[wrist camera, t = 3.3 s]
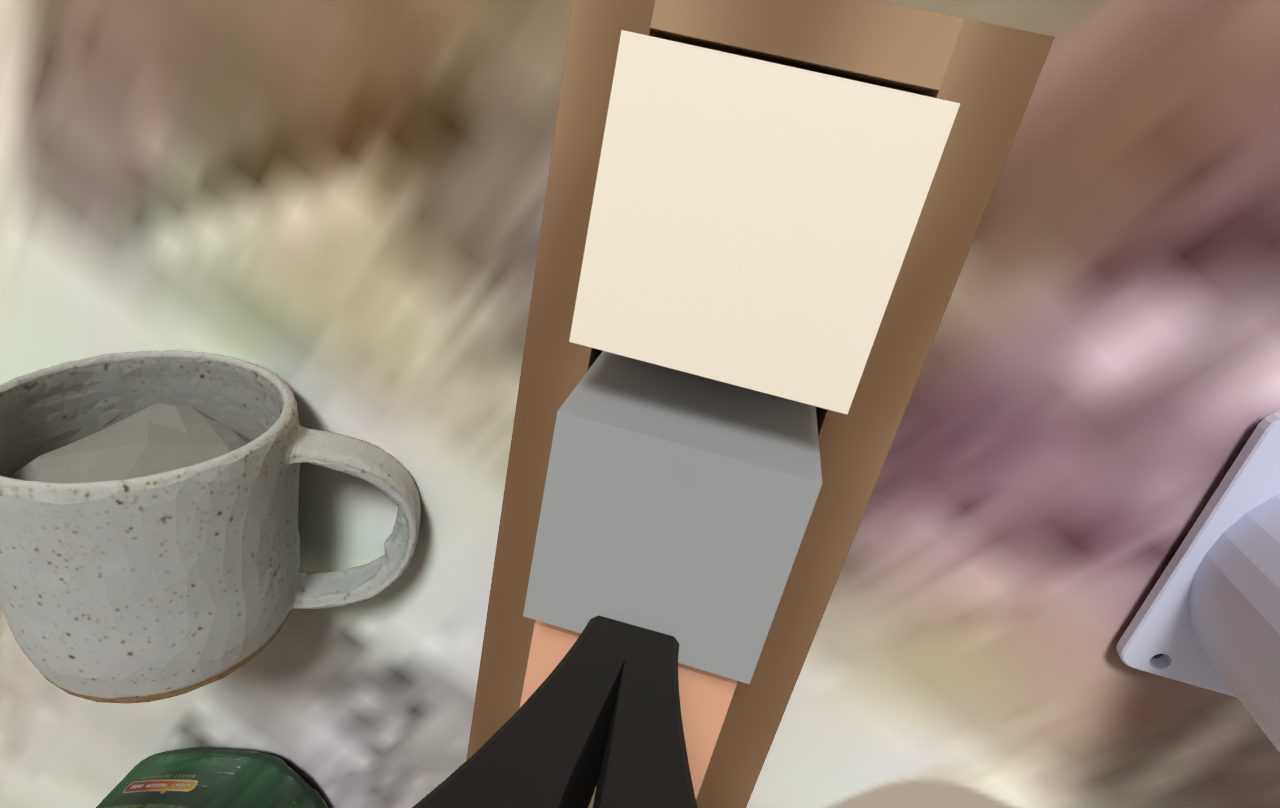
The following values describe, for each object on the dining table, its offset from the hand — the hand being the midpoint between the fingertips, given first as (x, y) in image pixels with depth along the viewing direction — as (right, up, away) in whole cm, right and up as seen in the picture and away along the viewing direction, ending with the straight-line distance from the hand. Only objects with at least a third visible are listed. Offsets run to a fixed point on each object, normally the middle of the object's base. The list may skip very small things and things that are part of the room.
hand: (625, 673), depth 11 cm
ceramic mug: (-12, +2, +13) cm, 18 cm away
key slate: (+1, +3, +7) cm, 7 cm away
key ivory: (+3, +8, +4) cm, 10 cm away
